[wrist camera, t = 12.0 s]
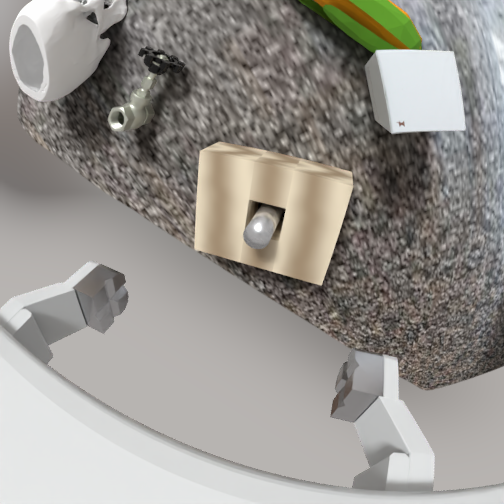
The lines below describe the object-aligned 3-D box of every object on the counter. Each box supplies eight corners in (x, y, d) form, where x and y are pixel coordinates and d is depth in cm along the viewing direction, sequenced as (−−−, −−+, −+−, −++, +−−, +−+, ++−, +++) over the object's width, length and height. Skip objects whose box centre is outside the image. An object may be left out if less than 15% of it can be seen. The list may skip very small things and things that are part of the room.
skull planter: (154, -33, 24) (34, 9, 15) (141, 66, 42) (55, 126, 33) (98, -40, 23) (-5, 4, 15) (94, 46, 41) (16, 99, 32)
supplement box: (429, 119, 29) (467, 134, 18) (373, 121, 31) (389, 136, 21) (420, 61, 25) (456, 50, 15) (362, 63, 28) (373, 49, 18)
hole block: (351, 172, 35) (353, 186, 31) (325, 261, 43) (321, 285, 38) (219, 141, 38) (200, 151, 34) (211, 229, 46) (194, 249, 41)
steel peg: (288, 195, 40) (271, 228, 32) (284, 215, 41) (267, 252, 33) (266, 190, 40) (244, 222, 32) (263, 210, 42) (241, 245, 34)
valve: (154, 134, 41) (193, 67, 34) (127, 144, 35) (168, 66, 28) (125, 113, 40) (160, 47, 33) (97, 120, 34) (132, 45, 28)
